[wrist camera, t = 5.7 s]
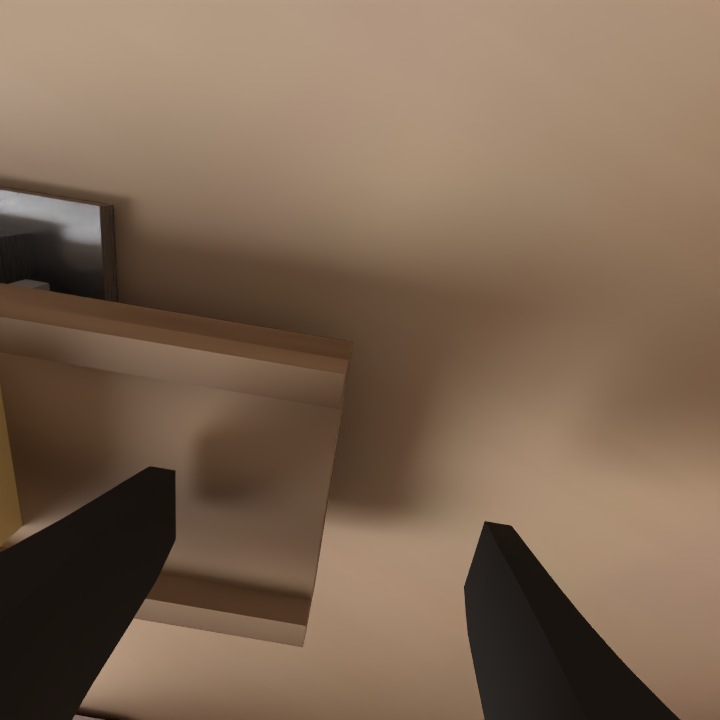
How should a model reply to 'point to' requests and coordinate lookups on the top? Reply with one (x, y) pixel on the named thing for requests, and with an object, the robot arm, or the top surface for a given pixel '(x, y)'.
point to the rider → (7, 485)
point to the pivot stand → (58, 243)
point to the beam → (180, 444)
